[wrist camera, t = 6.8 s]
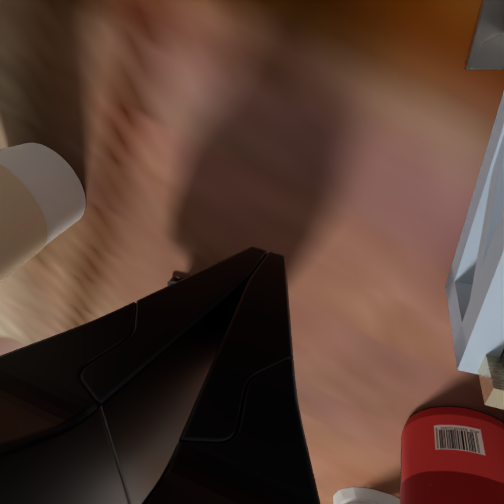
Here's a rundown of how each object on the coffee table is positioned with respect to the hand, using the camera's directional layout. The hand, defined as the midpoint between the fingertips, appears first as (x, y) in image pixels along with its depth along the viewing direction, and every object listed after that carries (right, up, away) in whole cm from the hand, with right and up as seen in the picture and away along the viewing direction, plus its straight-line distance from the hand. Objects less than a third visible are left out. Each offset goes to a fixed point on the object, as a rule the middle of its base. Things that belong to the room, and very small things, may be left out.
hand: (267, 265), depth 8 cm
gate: (+11, +3, +8) cm, 13 cm away
